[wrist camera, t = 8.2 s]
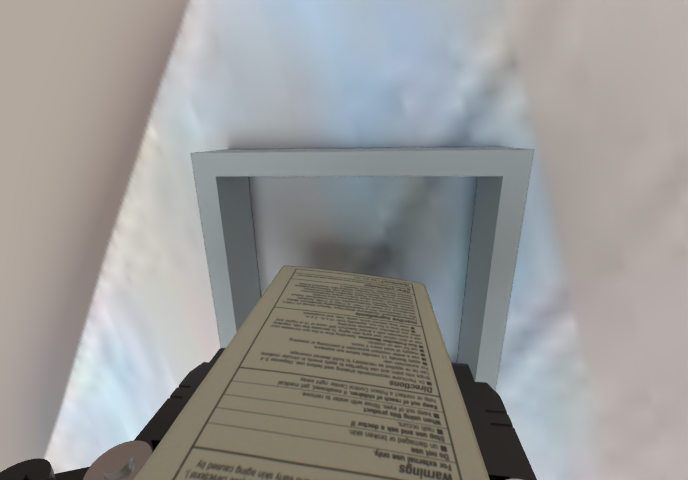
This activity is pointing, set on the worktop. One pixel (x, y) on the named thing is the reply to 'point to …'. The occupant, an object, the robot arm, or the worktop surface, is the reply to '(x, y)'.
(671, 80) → the worktop surface
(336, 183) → the worktop surface
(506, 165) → the box
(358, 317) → the skincare box
